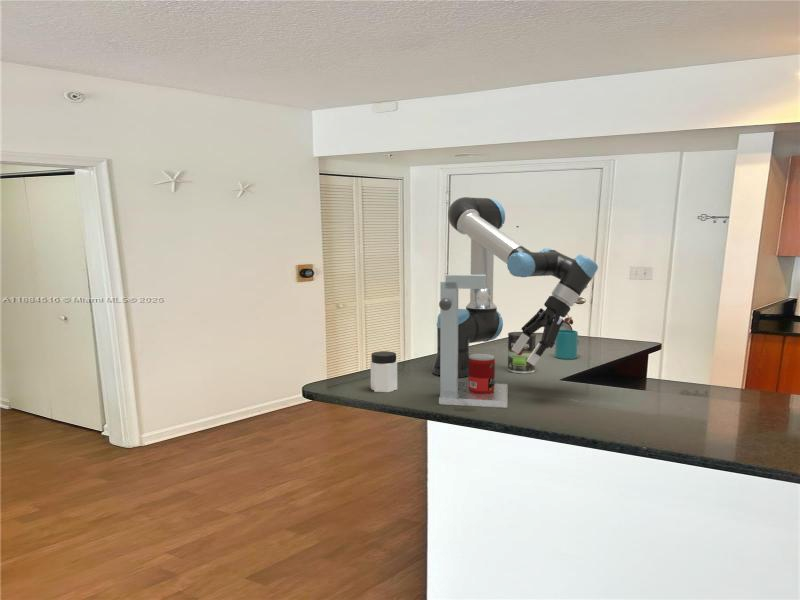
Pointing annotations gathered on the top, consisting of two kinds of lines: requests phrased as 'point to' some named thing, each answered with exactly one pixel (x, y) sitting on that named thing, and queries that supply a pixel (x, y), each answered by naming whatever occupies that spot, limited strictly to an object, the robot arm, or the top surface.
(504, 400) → the press
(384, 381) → the jar
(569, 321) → the alarm clock
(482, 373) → the canned food
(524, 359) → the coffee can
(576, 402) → the top surface
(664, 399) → the top surface
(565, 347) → the cup
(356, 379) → the top surface
